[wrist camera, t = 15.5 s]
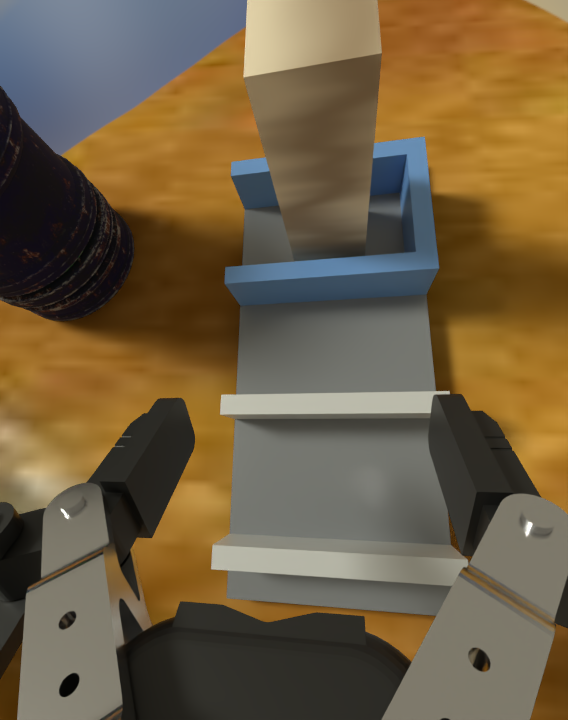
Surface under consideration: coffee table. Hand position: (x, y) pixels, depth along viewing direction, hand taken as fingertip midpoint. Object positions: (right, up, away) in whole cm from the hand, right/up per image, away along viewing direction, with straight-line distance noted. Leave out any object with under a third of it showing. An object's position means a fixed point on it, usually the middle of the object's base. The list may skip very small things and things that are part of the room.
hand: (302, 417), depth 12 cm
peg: (+2, +9, +11) cm, 14 cm away
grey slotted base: (+2, +2, +10) cm, 10 cm away
